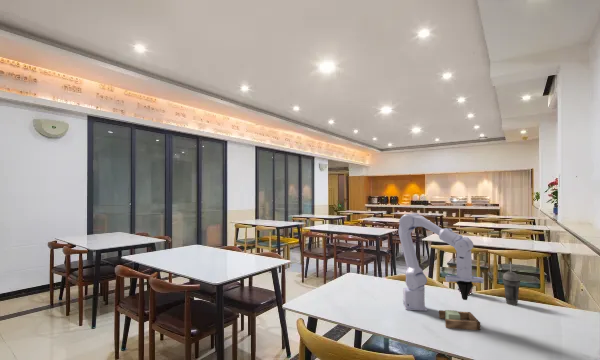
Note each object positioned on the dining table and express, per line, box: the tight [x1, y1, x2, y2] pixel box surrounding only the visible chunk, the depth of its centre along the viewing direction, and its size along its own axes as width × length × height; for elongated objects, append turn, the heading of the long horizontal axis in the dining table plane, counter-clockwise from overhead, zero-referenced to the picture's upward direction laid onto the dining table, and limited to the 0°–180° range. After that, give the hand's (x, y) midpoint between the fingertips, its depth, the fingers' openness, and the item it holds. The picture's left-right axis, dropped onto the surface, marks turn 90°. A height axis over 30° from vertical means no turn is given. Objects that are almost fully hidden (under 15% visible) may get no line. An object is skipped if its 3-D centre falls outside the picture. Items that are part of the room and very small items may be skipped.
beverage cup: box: [502, 261, 521, 306], centre depth 152 cm, size 7×7×20 cm
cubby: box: [438, 309, 481, 331], centre depth 129 cm, size 13×10×3 cm
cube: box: [444, 309, 460, 320], centre depth 130 cm, size 4×4×4 cm
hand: (464, 299), depth 131 cm, fingers closed
